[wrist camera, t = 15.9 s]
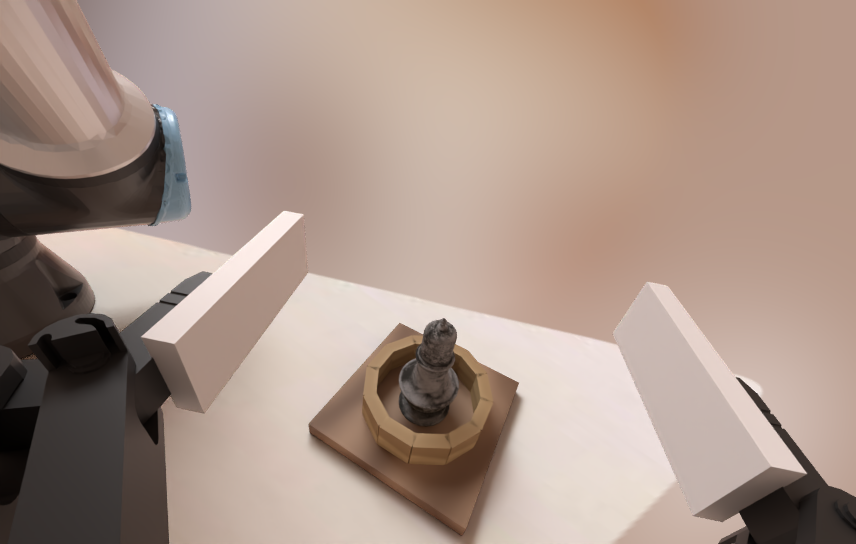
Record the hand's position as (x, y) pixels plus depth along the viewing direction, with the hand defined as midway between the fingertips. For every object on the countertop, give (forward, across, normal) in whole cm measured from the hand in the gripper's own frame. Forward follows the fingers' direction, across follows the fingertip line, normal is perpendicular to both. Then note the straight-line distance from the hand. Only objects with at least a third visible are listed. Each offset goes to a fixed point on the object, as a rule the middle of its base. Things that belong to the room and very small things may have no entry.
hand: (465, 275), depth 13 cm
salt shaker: (+10, 0, -24) cm, 25 cm away
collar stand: (+10, 0, -25) cm, 27 cm away
